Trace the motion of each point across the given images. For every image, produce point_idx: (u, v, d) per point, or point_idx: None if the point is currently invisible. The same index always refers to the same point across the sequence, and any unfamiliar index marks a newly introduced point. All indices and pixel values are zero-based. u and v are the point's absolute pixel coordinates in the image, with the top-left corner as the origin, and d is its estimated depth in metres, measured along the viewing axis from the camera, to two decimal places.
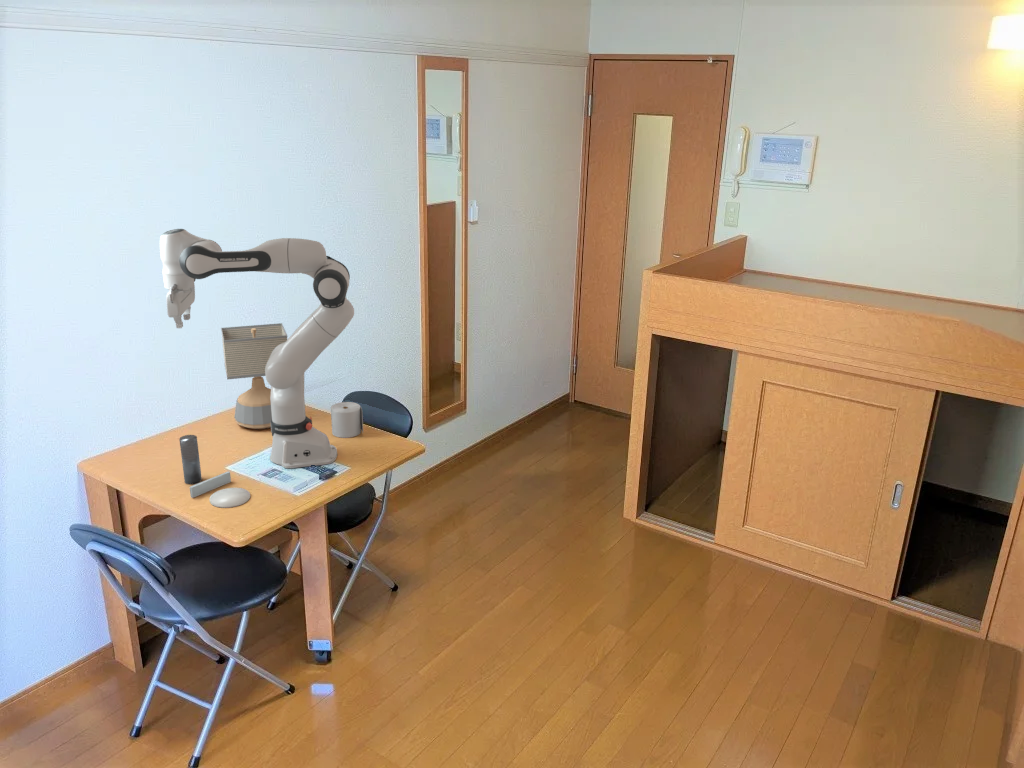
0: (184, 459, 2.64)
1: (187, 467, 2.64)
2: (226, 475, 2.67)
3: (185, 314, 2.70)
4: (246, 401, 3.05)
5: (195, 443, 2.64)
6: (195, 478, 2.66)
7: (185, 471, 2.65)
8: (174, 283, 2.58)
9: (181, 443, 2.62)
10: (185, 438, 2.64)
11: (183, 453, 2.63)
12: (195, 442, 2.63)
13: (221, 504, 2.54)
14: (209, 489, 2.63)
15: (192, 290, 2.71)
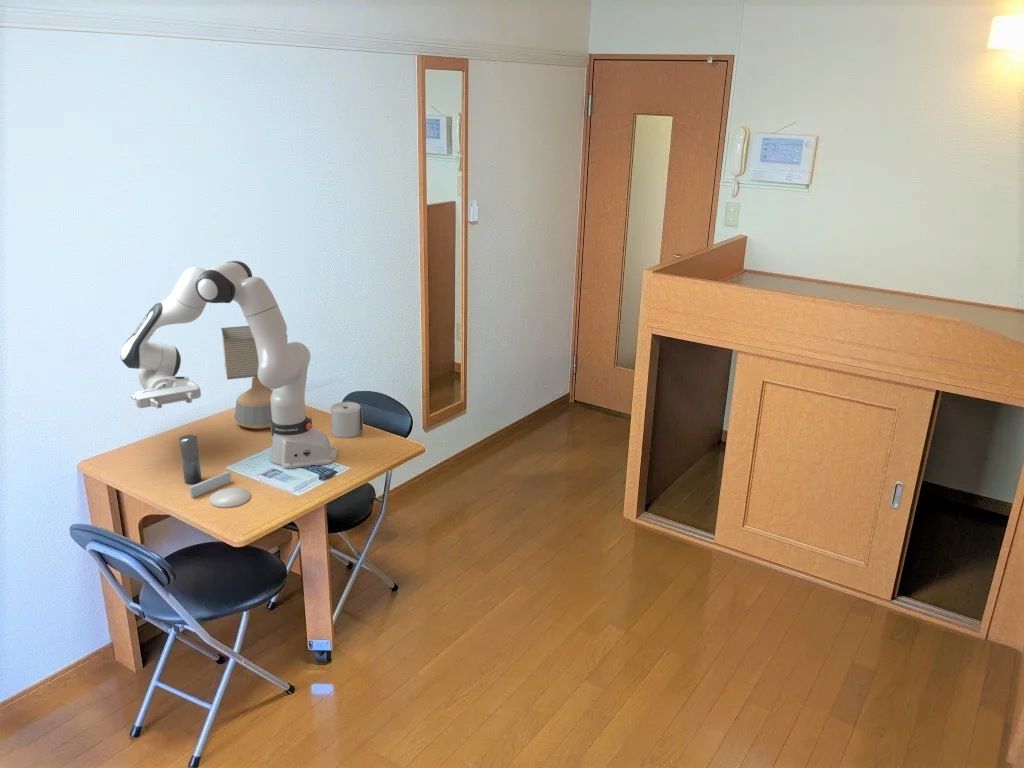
0: (184, 459, 2.64)
1: (187, 467, 2.64)
2: (226, 475, 2.67)
3: None
4: (246, 401, 3.05)
5: (195, 443, 2.64)
6: (195, 478, 2.66)
7: (185, 471, 2.65)
8: None
9: (181, 443, 2.62)
10: (185, 438, 2.64)
11: (183, 453, 2.63)
12: (195, 442, 2.63)
13: (221, 504, 2.54)
14: (209, 489, 2.63)
15: (190, 385, 2.80)
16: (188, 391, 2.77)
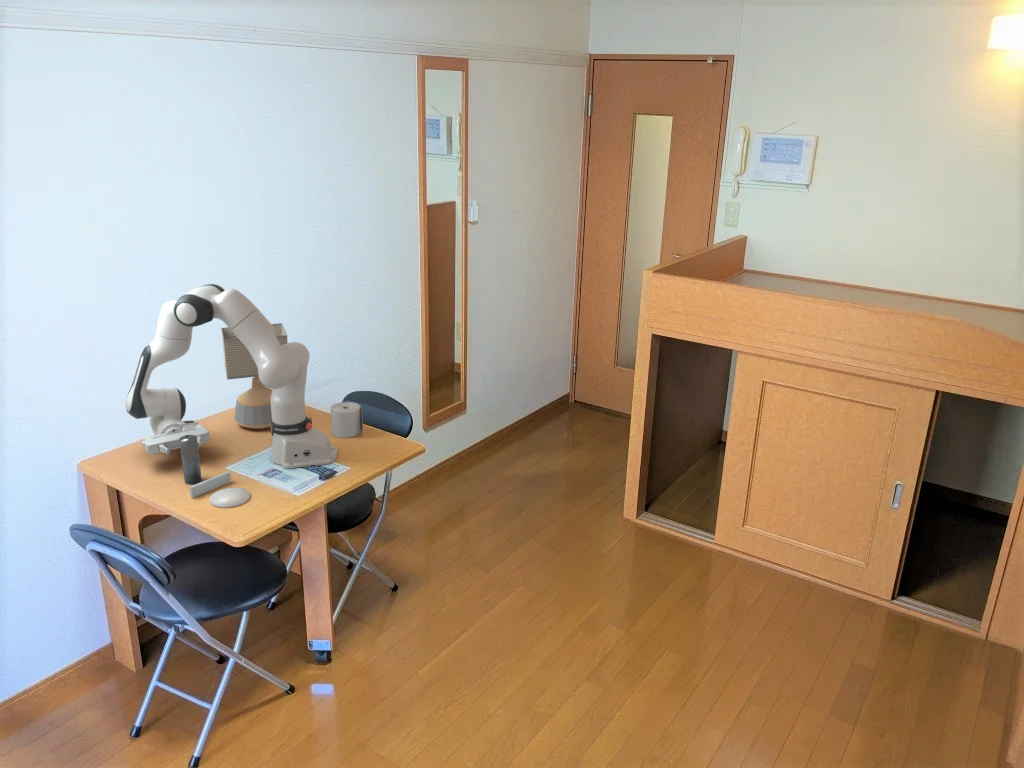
0: (184, 459, 2.64)
1: (187, 467, 2.64)
2: (226, 475, 2.67)
3: None
4: (246, 401, 3.05)
5: (195, 443, 2.64)
6: (195, 478, 2.66)
7: (185, 471, 2.65)
8: None
9: (181, 443, 2.62)
10: (185, 438, 2.64)
11: (183, 453, 2.63)
12: (195, 442, 2.63)
13: (221, 504, 2.54)
14: (209, 489, 2.63)
15: (199, 428, 2.83)
16: (197, 435, 2.79)
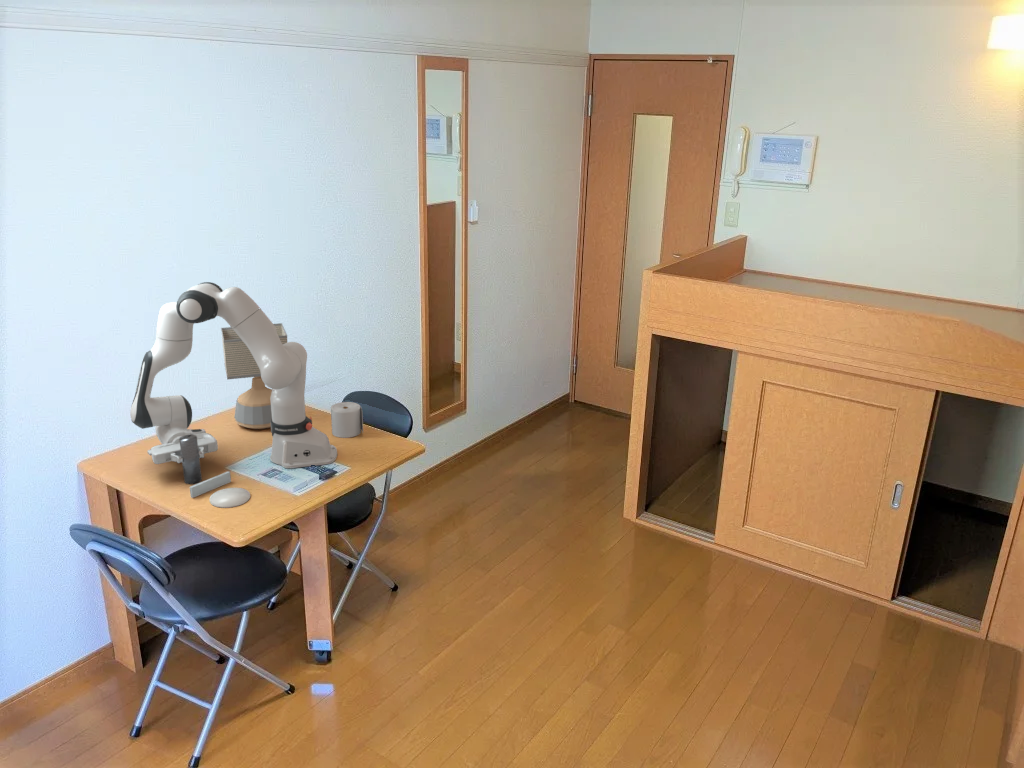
0: (184, 459, 2.64)
1: (187, 467, 2.64)
2: (226, 475, 2.67)
3: None
4: (246, 401, 3.05)
5: (195, 443, 2.64)
6: (195, 478, 2.66)
7: (185, 471, 2.65)
8: None
9: (181, 443, 2.62)
10: (185, 437, 2.64)
11: (183, 453, 2.63)
12: (195, 442, 2.63)
13: (221, 504, 2.54)
14: (209, 489, 2.63)
15: (206, 437, 2.76)
16: (205, 444, 2.72)
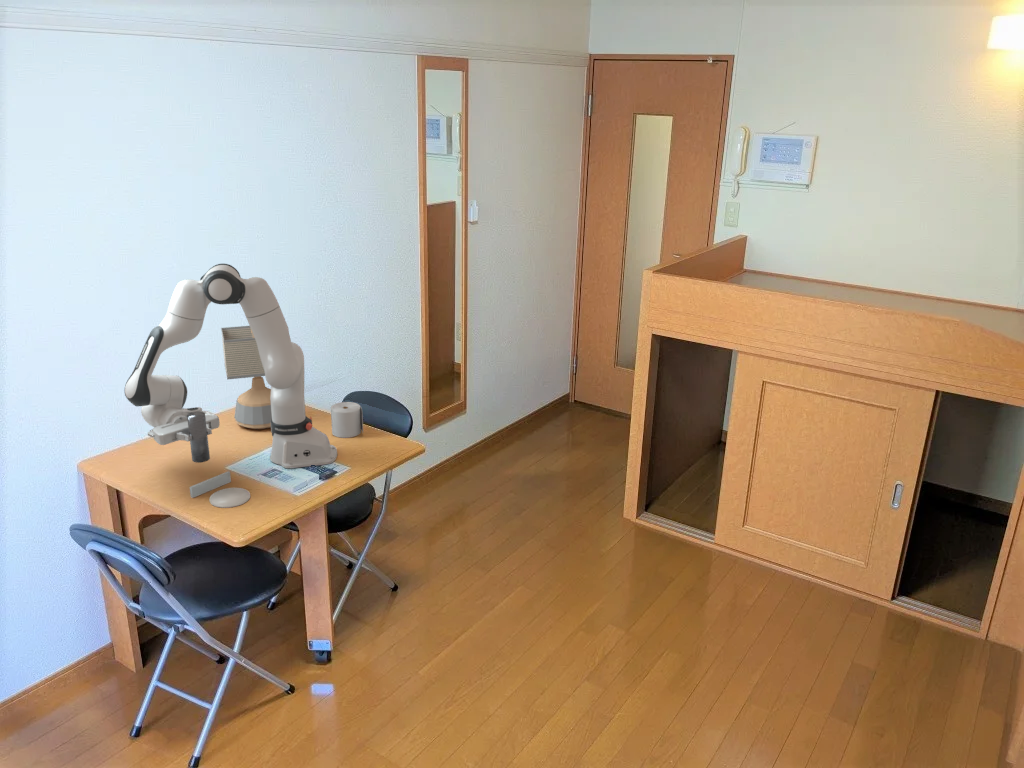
0: (193, 437, 2.54)
1: (197, 444, 2.55)
2: (226, 475, 2.67)
3: None
4: (246, 401, 3.05)
5: (204, 419, 2.55)
6: (205, 456, 2.58)
7: (195, 449, 2.56)
8: None
9: (190, 420, 2.53)
10: (192, 414, 2.54)
11: (193, 430, 2.54)
12: (204, 418, 2.55)
13: (221, 504, 2.54)
14: (209, 489, 2.63)
15: (206, 415, 2.67)
16: (208, 421, 2.63)
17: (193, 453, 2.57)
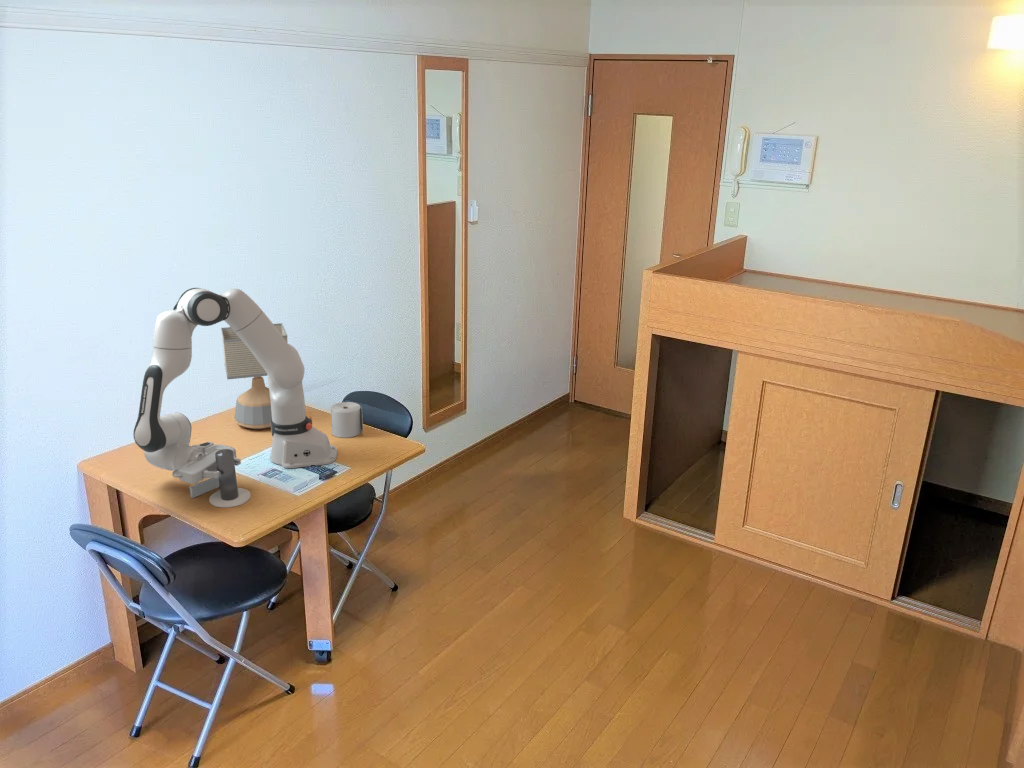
0: (225, 475, 2.53)
1: (229, 482, 2.54)
2: None
3: None
4: (246, 401, 3.05)
5: (233, 456, 2.54)
6: (236, 492, 2.57)
7: (226, 487, 2.54)
8: None
9: (221, 459, 2.51)
10: (220, 453, 2.52)
11: (224, 468, 2.52)
12: (233, 455, 2.54)
13: (221, 504, 2.54)
14: (209, 489, 2.63)
15: (221, 448, 2.64)
16: None
17: (224, 492, 2.55)
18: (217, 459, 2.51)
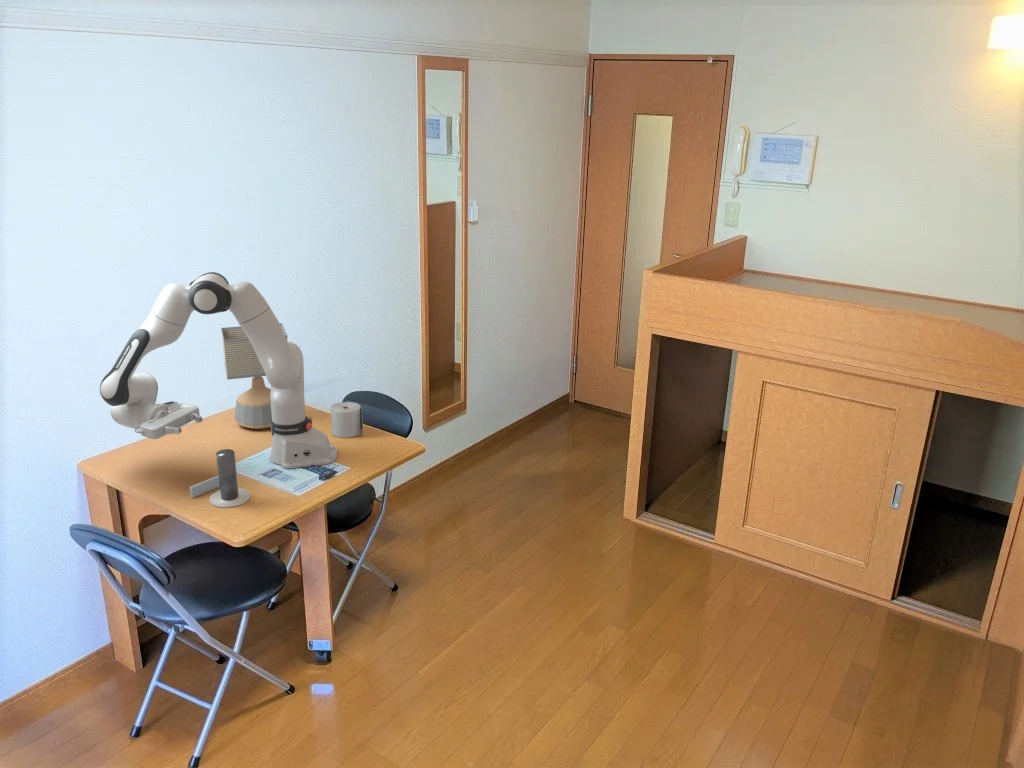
0: (225, 475, 2.53)
1: (229, 482, 2.54)
2: None
3: None
4: (246, 401, 3.05)
5: (234, 456, 2.54)
6: (236, 492, 2.57)
7: (227, 487, 2.54)
8: None
9: (222, 459, 2.51)
10: (221, 453, 2.53)
11: (225, 468, 2.52)
12: (234, 455, 2.54)
13: (221, 504, 2.54)
14: (209, 489, 2.63)
15: (184, 407, 2.71)
16: (191, 412, 2.68)
17: (225, 492, 2.55)
18: (218, 459, 2.51)
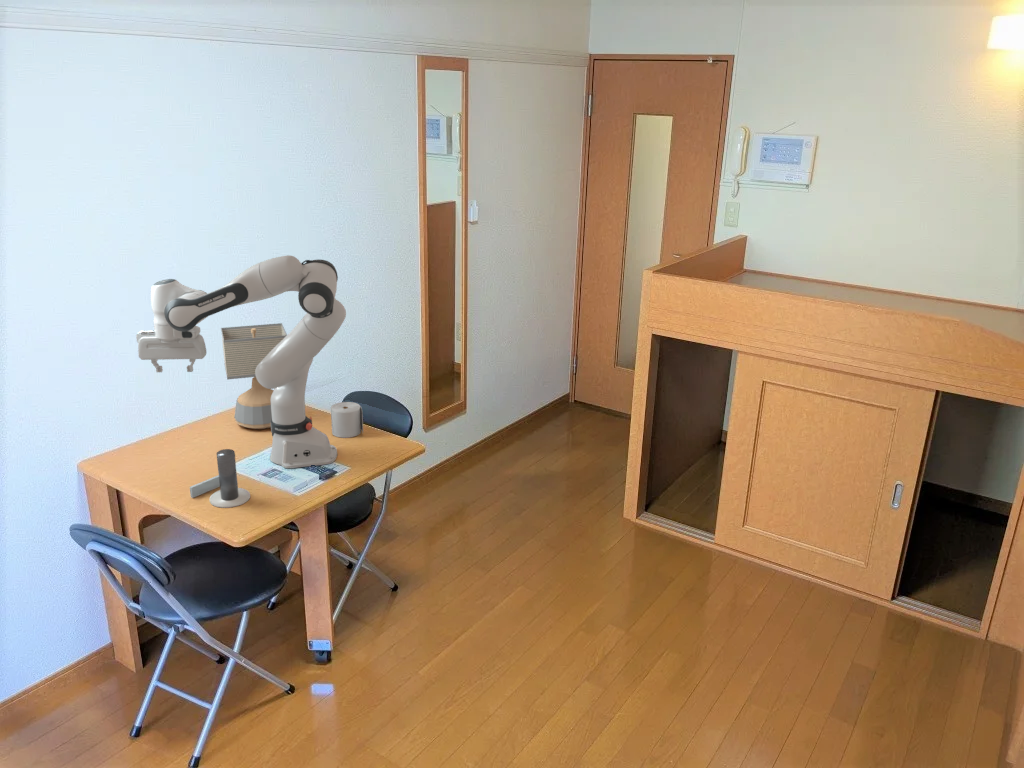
0: (225, 475, 2.53)
1: (229, 482, 2.54)
2: None
3: (188, 366, 2.68)
4: (246, 401, 3.05)
5: (234, 456, 2.54)
6: (236, 492, 2.57)
7: (227, 487, 2.54)
8: None
9: (223, 459, 2.51)
10: (222, 453, 2.53)
11: (225, 468, 2.52)
12: (234, 455, 2.54)
13: (221, 504, 2.54)
14: (209, 489, 2.63)
15: (195, 346, 2.64)
16: (191, 358, 2.66)
17: (225, 492, 2.55)
18: (218, 459, 2.51)
